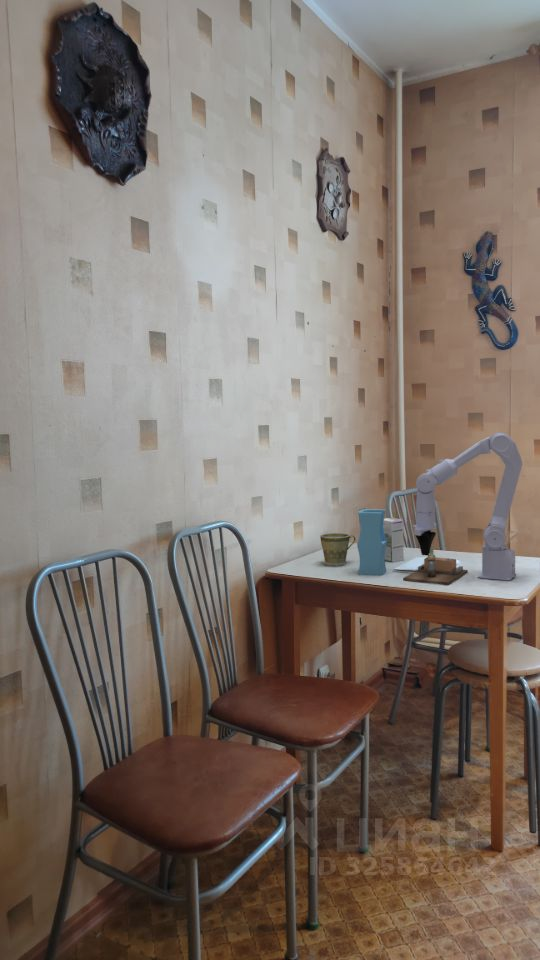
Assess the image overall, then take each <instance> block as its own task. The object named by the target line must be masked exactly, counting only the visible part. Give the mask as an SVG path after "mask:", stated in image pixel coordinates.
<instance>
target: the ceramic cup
mask: <svg viewBox="0 0 540 960" xmlns="http://www.w3.org/2000/svg"><path fill="white" fill-rule="evenodd" d="M319 537H320V543H321V547H322V553H323V556H324V562H325V565H326V566H328V567H329V566H330V567H340V566H344V565H346V563H347V555H348V550H350V548H351V546H352V545H354V544H355V542H356V536H355V535H353V534H348V533H343V532H341V533H340V532H329V533H328V532H327V533H322V534H320V535H319ZM351 538H353V542H352V543H351V544H350V539H351Z"/></svg>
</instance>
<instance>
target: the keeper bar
mask: <svg viewBox="0 0 540 960" xmlns="http://www.w3.org/2000/svg"><path fill="white" fill-rule="evenodd" d="M427 557H428V561H435V557H436V555H435V554H434V548H430V552H429V555H428V556H427Z"/></svg>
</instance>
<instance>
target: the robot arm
mask: <svg viewBox="0 0 540 960" xmlns="http://www.w3.org/2000/svg"><path fill="white" fill-rule="evenodd" d="M491 451H492V452H494V453H495V454H496V455H497V456H499V458H500V459H501V461H502V462H503V463H504V469H503V473H502V477H501V481H500V485H499V488H498V492H497V496H496V499H495V503H494V506H493V509H492V512H491V517H490V520H489V522H488V525H487V526H486V527H485V528H484V529H483V534H482V535H483V541H484V544H483V545H482V546H481V558H482V559H481V564H482V565H481V567H482V569H481V571H482V572H481V573H480V574H479V575H478V576H477V578H479V579H490V580H499V581H500V580H501V581H511V580H512V579H513V578H515V577H516V575H517V574H516V553H515V550H514V549H510V548H508V546H507V545H506V541H507V538H506V529H507V524H508V523H507V522H508V518H509V514H510V511H511V507H512V503H513V500H514V496H515V493H516V489H517V485H518V482H519V478H520V475H521V471H522V467H523V460H522V457H521V455H520V452H519V450H518V447H517V444H516V442H515V441H514V440H513V438H512V437H511V436H510V435H509V434H507V433H506V432H503V431H498V432H495V433H494V434H492V435H491V436H488V437H485V438H483V439H481V440H480V441H478V442H476V443H474V444H473V445H472V446H470V447H469V448H467V449H466V450H464V451H463V452H462V453H460V454H459V455H457V456H456V457H454V458H453V459H451V458H444V460H443V458H442V459H440V460H438V463H437V464H435V466H433V467H432V468H430V469H429V468H427V469H426V470H425V472H426V473H421V474H420V475H419V476H418V477H417V478H416V481H415V486H416V489H417V490H416V504H415V506H416V509H415V511H416V513H415V514H416V517H415V518H416V520H415V521H416V523H415V524H413V525H412V528H413V529H414V530H413V531H414V532H413V535H414V536H415V537H416V540H417V541H418V545H419V548H420V553H421V555H422V556H427V557H428V555H429V552H430V549H432V545H433V540H434V539H435V538H436V535H437V534H436V533H437V532H435V531H434V530H437V522H436V496H435V488H436V486H440V485H442V484H443V483H445V482H446V481H448V480H450V479H451V478H453V477H454V476H456V475H457V474H458V469H459V468H460V467H462V466H463V465H466V464H467V463H469V462H471V461H472V460H473V459H476V457H479V456H480V455H487V454H490V455H491Z"/></svg>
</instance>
